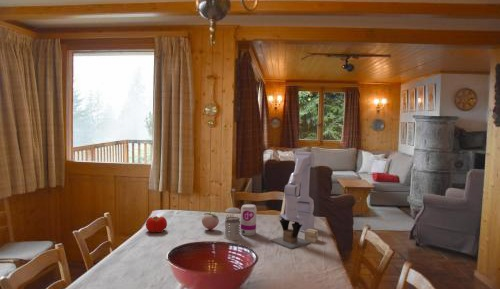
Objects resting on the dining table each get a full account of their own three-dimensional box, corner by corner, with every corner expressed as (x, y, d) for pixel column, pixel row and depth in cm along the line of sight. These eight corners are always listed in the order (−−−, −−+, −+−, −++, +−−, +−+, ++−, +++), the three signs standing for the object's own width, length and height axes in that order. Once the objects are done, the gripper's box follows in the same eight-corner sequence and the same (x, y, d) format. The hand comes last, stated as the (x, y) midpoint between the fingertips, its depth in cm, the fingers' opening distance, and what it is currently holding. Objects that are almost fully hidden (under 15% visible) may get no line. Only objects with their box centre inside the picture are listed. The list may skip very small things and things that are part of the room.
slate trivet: (289, 236, 195) (289, 234, 195) (310, 243, 185) (310, 241, 185) (270, 241, 186) (270, 239, 186) (290, 249, 176) (290, 247, 176)
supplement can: (254, 236, 193) (255, 208, 192) (238, 235, 195) (239, 206, 194) (257, 232, 201) (258, 204, 200) (242, 230, 203) (242, 203, 202)
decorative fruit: (198, 231, 200) (198, 212, 200) (205, 227, 208) (206, 209, 207) (213, 233, 197) (214, 214, 196) (220, 229, 205) (221, 211, 204)
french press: (245, 235, 194) (246, 188, 192) (235, 242, 184) (236, 191, 182) (228, 233, 198) (229, 186, 197) (217, 239, 188) (218, 189, 186)
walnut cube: (290, 238, 189) (290, 228, 189) (297, 241, 185) (297, 231, 185) (283, 240, 186) (283, 230, 185) (290, 243, 182) (290, 232, 182)
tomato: (169, 228, 203) (169, 215, 203) (162, 234, 193) (162, 220, 192) (150, 227, 205) (150, 214, 204) (142, 233, 194) (142, 219, 193)
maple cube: (308, 238, 193) (308, 228, 193) (317, 240, 190) (317, 230, 190) (304, 240, 189) (304, 231, 188) (314, 242, 186) (314, 232, 186)
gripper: (275, 206, 187) (274, 233, 188) (296, 212, 176) (295, 240, 177) (285, 204, 192) (284, 230, 193) (306, 210, 181) (305, 238, 182)
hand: (290, 235), depth 185 cm, fingers open, 6 cm apart
